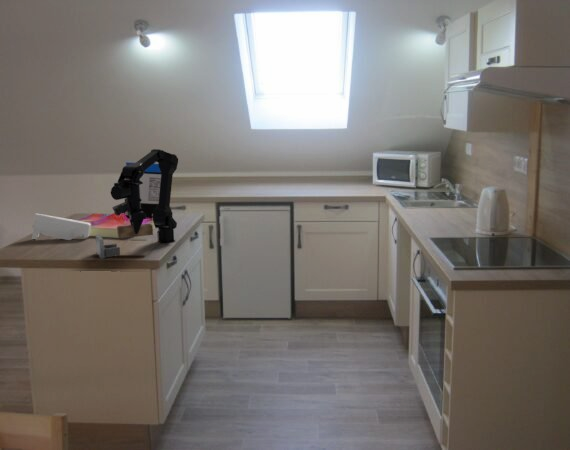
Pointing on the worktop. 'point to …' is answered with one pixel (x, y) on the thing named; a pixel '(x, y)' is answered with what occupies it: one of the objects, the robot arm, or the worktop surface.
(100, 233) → the pink cream flat block
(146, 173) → the protein powder
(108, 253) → the bracket
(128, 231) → the rail
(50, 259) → the worktop surface
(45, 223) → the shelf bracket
